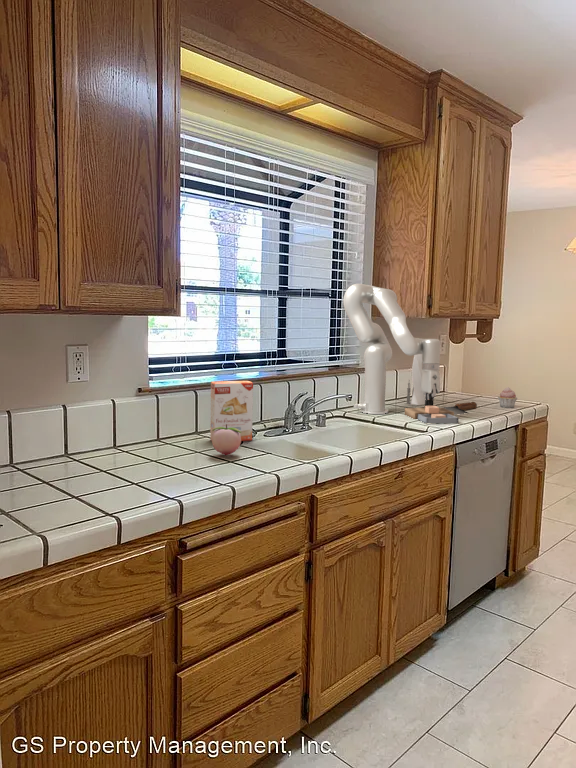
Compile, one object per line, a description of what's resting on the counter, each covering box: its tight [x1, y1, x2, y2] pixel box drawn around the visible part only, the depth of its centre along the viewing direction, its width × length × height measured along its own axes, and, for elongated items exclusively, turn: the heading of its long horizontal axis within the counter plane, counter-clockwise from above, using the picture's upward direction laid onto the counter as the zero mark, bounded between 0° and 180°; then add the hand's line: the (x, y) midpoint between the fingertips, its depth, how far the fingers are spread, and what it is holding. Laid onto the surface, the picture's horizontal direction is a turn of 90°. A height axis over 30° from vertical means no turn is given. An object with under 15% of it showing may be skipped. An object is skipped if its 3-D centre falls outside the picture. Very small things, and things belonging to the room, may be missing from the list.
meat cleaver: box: [443, 401, 478, 416], centre depth 268 cm, size 34×11×4 cm, turn 127°
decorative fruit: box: [211, 424, 242, 456], centre depth 179 cm, size 9×8×10 cm
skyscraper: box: [405, 354, 426, 407], centre depth 287 cm, size 8×8×28 cm
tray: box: [417, 414, 459, 424], centre depth 243 cm, size 14×10×2 cm
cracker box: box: [209, 380, 254, 442], centre depth 201 cm, size 14×6×21 cm, turn 112°
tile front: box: [431, 414, 446, 418], centre depth 242 cm, size 4×4×2 cm
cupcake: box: [497, 386, 518, 409], centre depth 285 cm, size 9×9×10 cm
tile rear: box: [424, 405, 440, 413], centre depth 248 cm, size 4×4×2 cm
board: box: [404, 407, 455, 420], centre depth 254 cm, size 18×12×3 cm, turn 99°
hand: (429, 408), depth 252 cm, fingers closed
